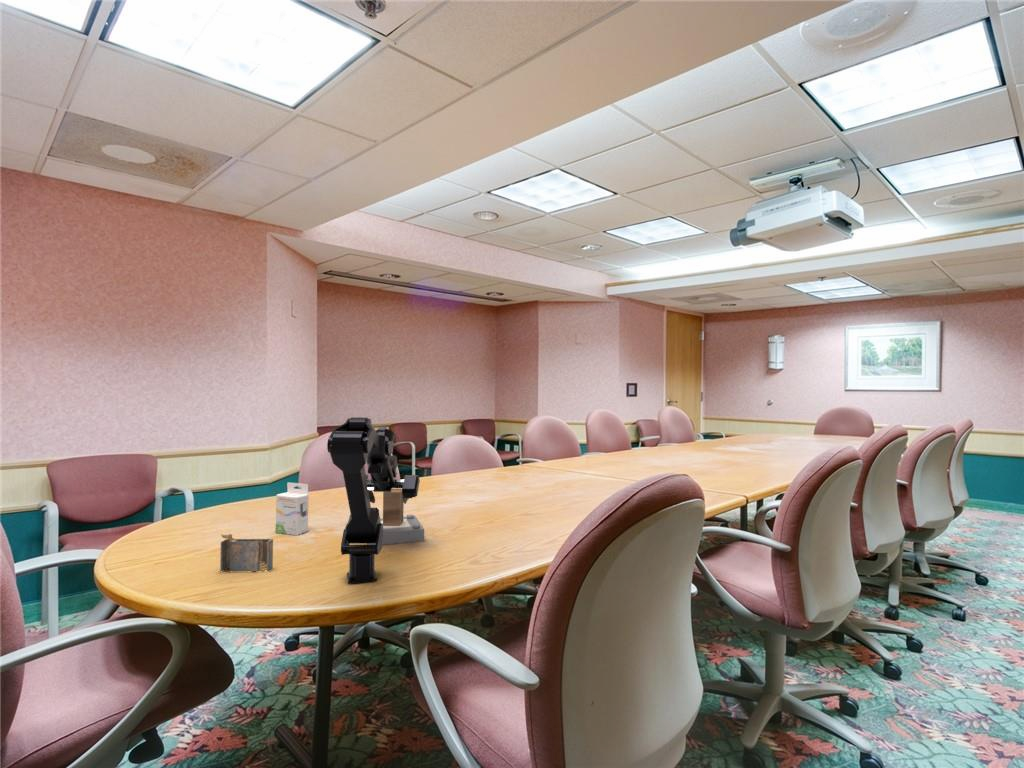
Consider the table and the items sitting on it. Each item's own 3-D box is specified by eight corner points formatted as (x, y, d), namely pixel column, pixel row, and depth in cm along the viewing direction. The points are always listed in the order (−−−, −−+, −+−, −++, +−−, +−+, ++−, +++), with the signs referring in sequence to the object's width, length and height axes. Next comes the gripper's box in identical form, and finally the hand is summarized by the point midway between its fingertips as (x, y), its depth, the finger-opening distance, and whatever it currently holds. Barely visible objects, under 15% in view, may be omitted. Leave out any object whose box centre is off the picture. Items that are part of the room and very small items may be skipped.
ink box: (274, 533, 160) (275, 484, 160) (286, 529, 164) (286, 481, 164) (297, 536, 157) (298, 486, 157) (308, 531, 162) (309, 483, 162)
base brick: (424, 541, 153) (424, 526, 153) (367, 546, 148) (367, 530, 148) (415, 527, 168) (415, 513, 168) (363, 531, 163) (364, 517, 163)
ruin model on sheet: (219, 574, 126) (219, 534, 126) (225, 570, 129) (226, 530, 129) (267, 574, 126) (267, 534, 126) (272, 569, 129) (273, 530, 129)
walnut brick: (399, 525, 155) (400, 492, 156) (382, 525, 156) (383, 492, 156) (403, 521, 160) (403, 488, 161) (387, 521, 161) (387, 488, 161)
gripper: (418, 447, 148) (425, 479, 159) (353, 446, 149) (364, 479, 160) (413, 479, 140) (420, 511, 151) (343, 479, 141) (355, 510, 152)
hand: (389, 502), depth 154 cm, fingers open, 9 cm apart
